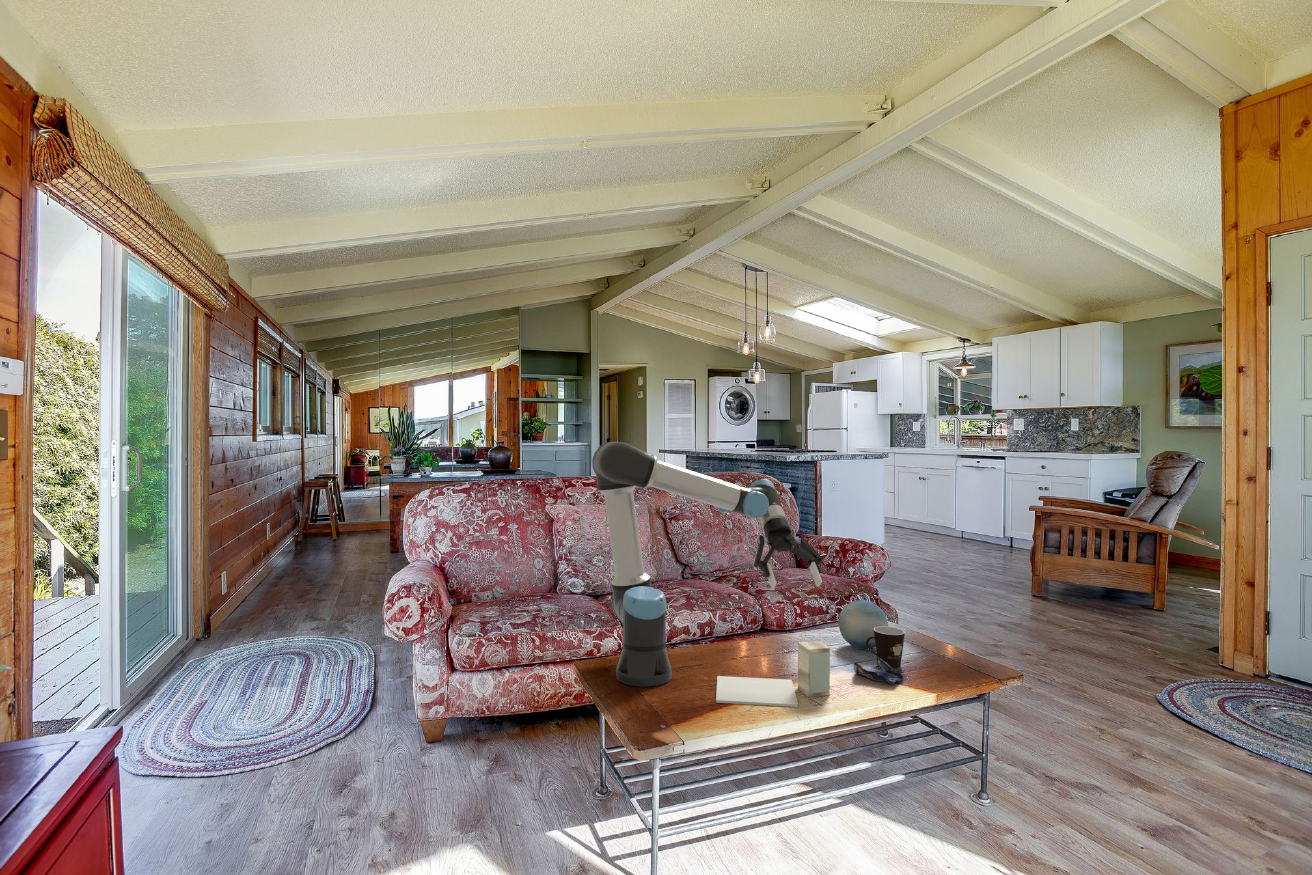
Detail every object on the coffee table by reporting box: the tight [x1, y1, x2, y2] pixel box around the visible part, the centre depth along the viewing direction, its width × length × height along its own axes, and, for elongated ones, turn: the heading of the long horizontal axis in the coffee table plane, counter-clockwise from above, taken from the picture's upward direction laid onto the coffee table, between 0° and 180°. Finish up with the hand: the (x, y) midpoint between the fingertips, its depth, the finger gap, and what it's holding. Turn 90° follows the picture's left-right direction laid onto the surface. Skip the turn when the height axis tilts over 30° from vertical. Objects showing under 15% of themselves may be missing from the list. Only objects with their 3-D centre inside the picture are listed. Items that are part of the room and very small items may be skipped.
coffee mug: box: [866, 626, 906, 670], centre depth 192 cm, size 12×9×10 cm
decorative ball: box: [838, 599, 889, 650], centre depth 208 cm, size 15×15×15 cm
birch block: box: [797, 640, 831, 697], centre depth 171 cm, size 6×6×12 cm
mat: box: [715, 675, 799, 708], centre depth 170 cm, size 20×17×1 cm
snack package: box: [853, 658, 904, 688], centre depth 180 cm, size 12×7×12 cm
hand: (797, 585), depth 182 cm, fingers open, 13 cm apart
